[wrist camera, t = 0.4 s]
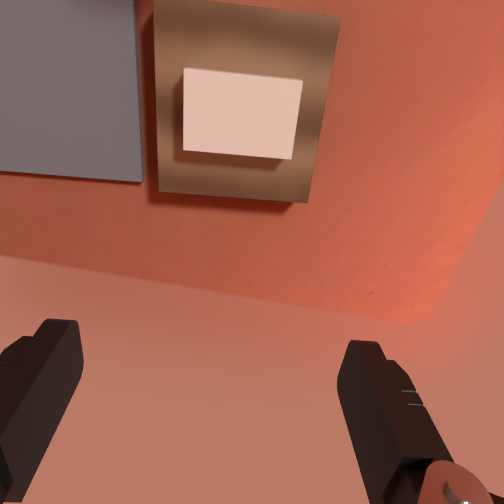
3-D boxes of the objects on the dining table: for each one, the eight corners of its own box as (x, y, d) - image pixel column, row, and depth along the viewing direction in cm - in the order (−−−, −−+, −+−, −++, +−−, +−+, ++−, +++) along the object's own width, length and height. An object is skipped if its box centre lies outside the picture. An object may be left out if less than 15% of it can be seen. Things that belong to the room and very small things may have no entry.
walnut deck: (160, -1, 29) (152, -6, 26) (332, 20, 30) (341, 17, 27) (164, 181, 36) (158, 191, 33) (302, 192, 37) (307, 203, 34)
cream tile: (187, 67, 28) (183, 68, 26) (299, 79, 29) (302, 81, 27) (186, 144, 31) (183, 149, 29) (288, 153, 32) (291, 159, 30)
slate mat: (-81, -30, 27) (-89, -32, 26) (135, -4, 28) (132, -5, 28) (-26, 165, 34) (-31, 168, 34) (144, 179, 36) (142, 182, 35)
